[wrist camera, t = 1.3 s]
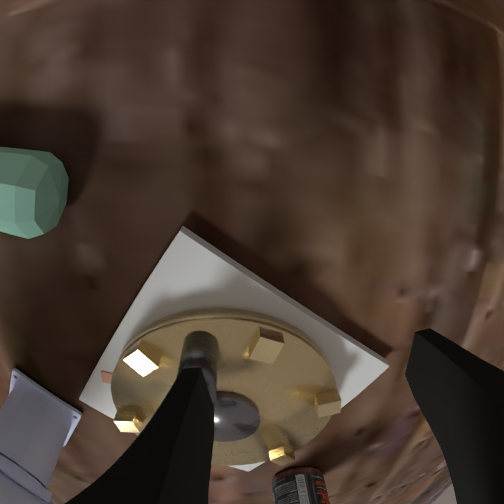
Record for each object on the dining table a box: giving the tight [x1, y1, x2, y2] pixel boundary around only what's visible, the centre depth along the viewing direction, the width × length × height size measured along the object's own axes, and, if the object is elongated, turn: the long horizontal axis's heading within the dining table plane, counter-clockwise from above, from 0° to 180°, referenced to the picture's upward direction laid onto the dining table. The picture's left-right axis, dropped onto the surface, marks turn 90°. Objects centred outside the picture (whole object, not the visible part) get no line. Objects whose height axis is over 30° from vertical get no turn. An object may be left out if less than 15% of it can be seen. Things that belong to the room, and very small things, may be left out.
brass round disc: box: [111, 308, 342, 466], centre depth 18 cm, size 16×16×6 cm
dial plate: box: [79, 226, 389, 472], centre depth 21 cm, size 18×18×1 cm
